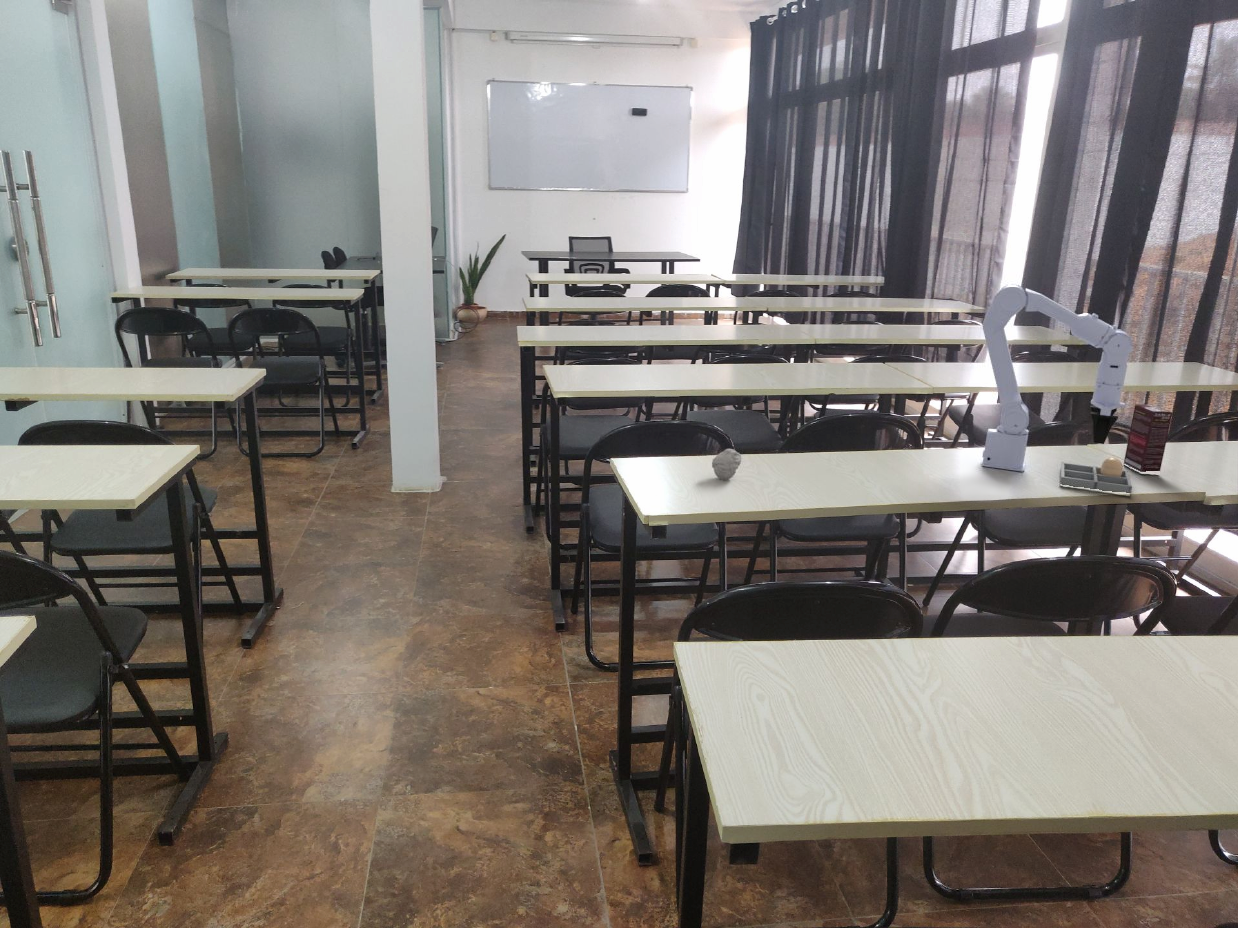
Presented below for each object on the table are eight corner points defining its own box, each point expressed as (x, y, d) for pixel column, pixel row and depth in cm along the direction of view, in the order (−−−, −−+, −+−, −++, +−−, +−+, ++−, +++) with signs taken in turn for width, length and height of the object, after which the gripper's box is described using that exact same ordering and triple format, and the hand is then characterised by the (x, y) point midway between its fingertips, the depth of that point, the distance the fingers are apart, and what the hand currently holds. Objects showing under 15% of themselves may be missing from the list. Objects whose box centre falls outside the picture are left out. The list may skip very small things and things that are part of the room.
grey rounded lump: (745, 481, 201) (747, 451, 199) (719, 484, 198) (721, 454, 196) (731, 473, 206) (733, 444, 204) (705, 476, 203) (706, 447, 201)
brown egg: (1099, 479, 208) (1103, 459, 207) (1098, 474, 212) (1102, 454, 210) (1121, 482, 206) (1125, 461, 205) (1119, 477, 210) (1123, 457, 209)
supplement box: (1160, 476, 215) (1174, 412, 211) (1140, 475, 216) (1153, 411, 211) (1141, 466, 224) (1153, 404, 219) (1121, 465, 224) (1133, 403, 219)
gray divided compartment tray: (1059, 486, 204) (1061, 477, 204) (1060, 471, 217) (1061, 462, 216) (1129, 496, 199) (1131, 486, 198) (1126, 480, 211) (1127, 471, 210)
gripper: (1130, 390, 198) (1118, 449, 202) (1127, 380, 211) (1116, 435, 215) (1095, 386, 201) (1084, 444, 205) (1094, 376, 214) (1083, 431, 218)
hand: (1098, 439), depth 210 cm, fingers open, 7 cm apart
